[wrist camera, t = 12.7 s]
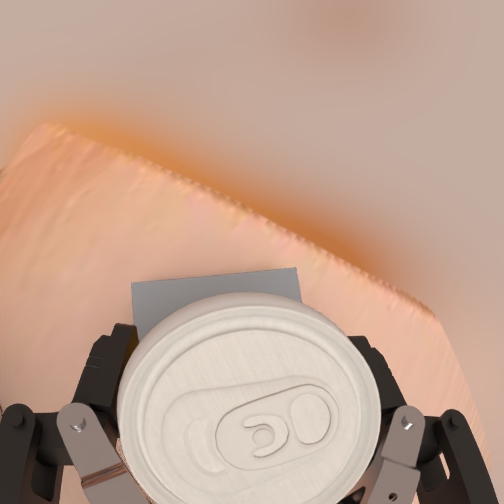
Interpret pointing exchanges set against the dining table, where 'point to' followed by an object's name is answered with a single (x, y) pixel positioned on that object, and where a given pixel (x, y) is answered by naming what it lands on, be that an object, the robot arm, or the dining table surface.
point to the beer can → (247, 405)
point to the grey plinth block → (204, 292)
